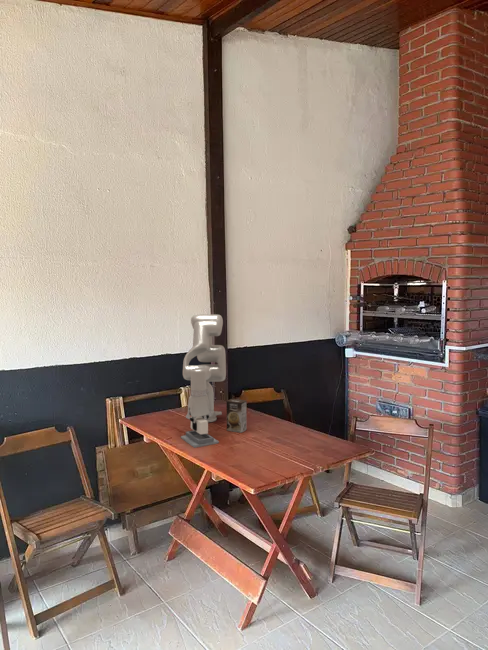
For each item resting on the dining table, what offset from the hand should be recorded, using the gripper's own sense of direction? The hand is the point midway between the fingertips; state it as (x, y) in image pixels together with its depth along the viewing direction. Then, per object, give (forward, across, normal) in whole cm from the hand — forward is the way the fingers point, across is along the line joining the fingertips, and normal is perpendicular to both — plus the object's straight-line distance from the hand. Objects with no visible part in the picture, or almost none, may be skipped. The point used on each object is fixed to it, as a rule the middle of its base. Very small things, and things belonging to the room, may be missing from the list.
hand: (199, 429), depth 262 cm
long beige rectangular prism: (+1, 0, 0) cm, 1 cm away
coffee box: (+6, -24, -6) cm, 26 cm away
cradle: (+6, 0, 0) cm, 6 cm away
